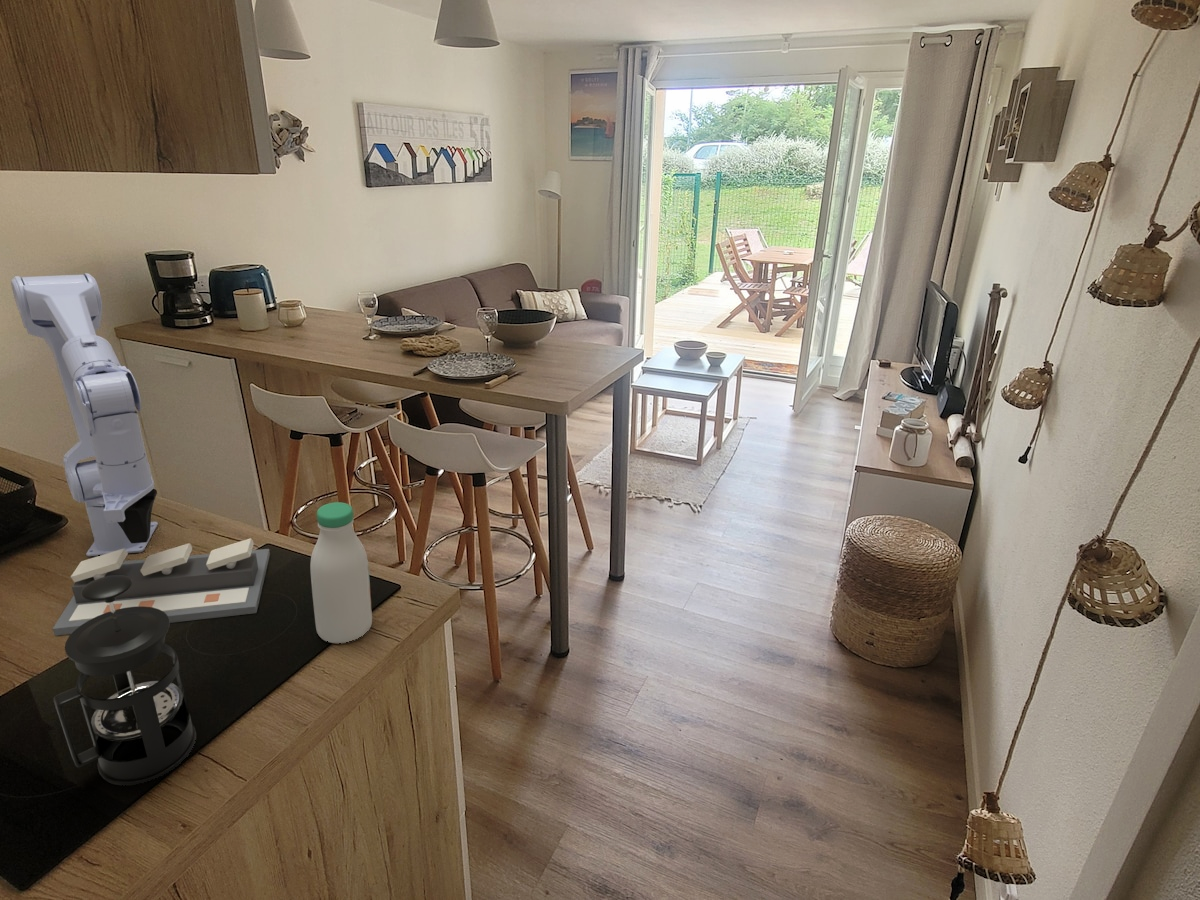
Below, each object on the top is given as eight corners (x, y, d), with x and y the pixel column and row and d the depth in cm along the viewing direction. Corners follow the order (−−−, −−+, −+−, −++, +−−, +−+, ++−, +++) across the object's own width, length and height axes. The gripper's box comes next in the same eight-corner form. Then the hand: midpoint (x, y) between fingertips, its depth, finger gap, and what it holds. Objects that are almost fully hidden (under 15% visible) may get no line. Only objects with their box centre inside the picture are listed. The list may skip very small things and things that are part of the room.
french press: (186, 703, 82) (151, 546, 73) (215, 748, 77) (182, 584, 67) (69, 757, 74) (14, 587, 65) (92, 812, 69) (36, 635, 59)
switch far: (217, 560, 104) (211, 550, 103) (256, 548, 105) (251, 538, 104) (211, 575, 100) (205, 564, 100) (252, 562, 102) (247, 551, 101)
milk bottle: (374, 639, 96) (366, 519, 88) (316, 649, 93) (303, 526, 85) (370, 607, 102) (363, 493, 94) (316, 616, 99) (303, 498, 91)
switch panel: (95, 570, 105) (89, 548, 103) (269, 554, 112) (267, 534, 111) (54, 635, 91) (47, 612, 89) (256, 613, 99) (253, 590, 97)
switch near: (88, 571, 99) (80, 561, 98) (131, 558, 100) (124, 548, 99) (78, 587, 95) (70, 577, 94) (123, 573, 96) (115, 563, 95)
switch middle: (154, 566, 101) (147, 555, 100) (195, 553, 102) (189, 543, 101) (146, 581, 98) (140, 570, 97) (189, 567, 99) (183, 557, 98)
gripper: (103, 437, 97) (122, 518, 102) (67, 482, 84) (91, 571, 90) (159, 435, 99) (175, 514, 104) (132, 478, 86) (151, 565, 92)
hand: (140, 540), depth 97 cm, fingers closed
